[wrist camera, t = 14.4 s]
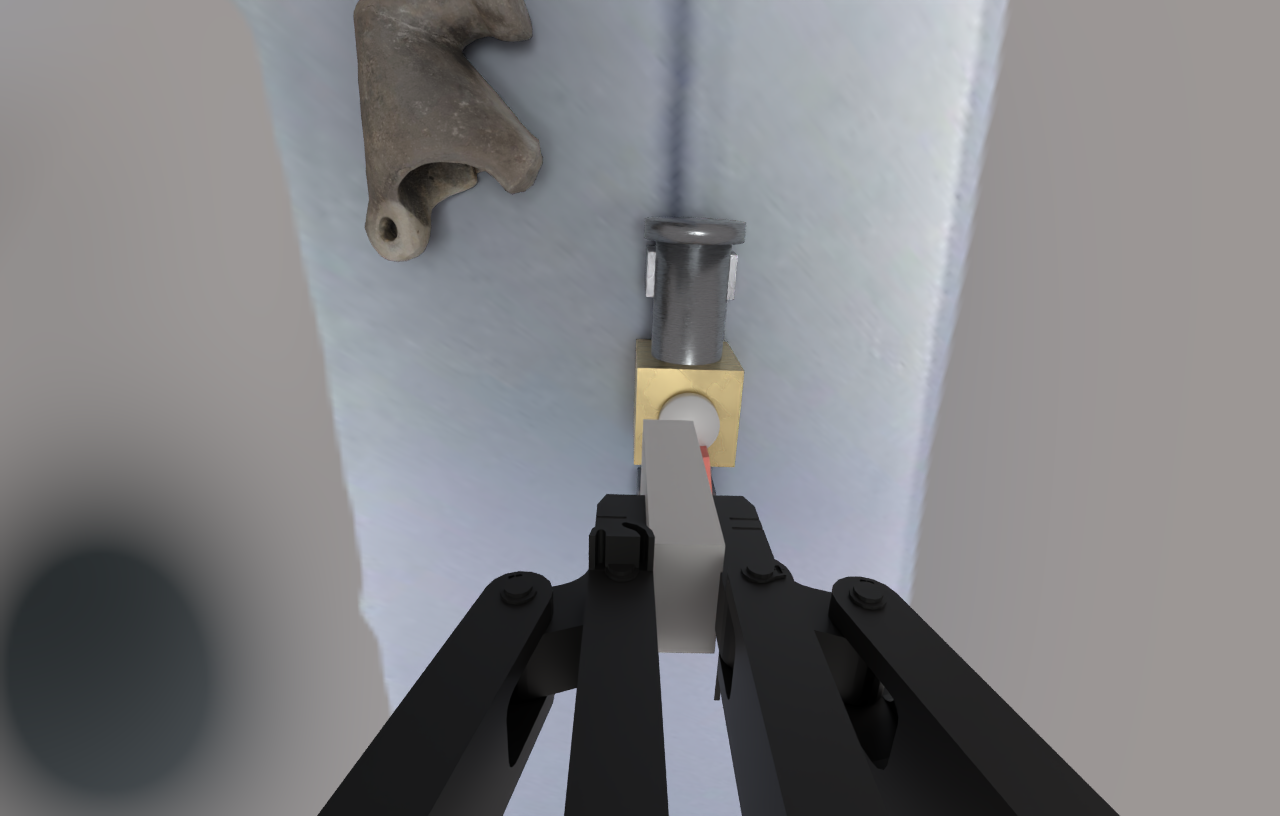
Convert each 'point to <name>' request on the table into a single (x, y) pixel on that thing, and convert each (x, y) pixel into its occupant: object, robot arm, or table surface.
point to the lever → (695, 420)
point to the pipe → (433, 113)
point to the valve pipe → (690, 326)
